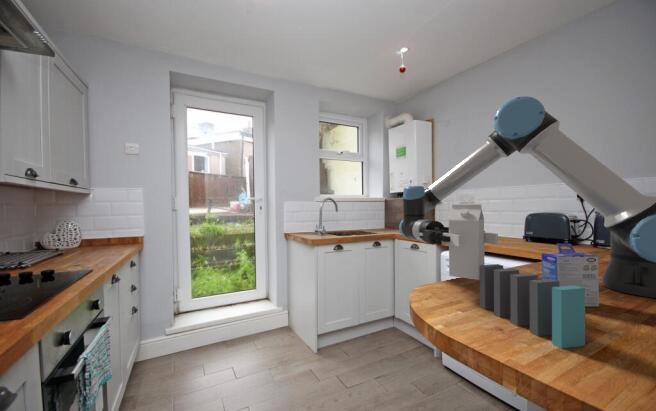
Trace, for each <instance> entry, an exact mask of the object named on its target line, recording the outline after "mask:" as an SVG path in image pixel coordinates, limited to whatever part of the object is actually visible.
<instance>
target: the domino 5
mask: <svg viewBox="0 0 656 411" xmlns="http://www.w3.org/2000/svg"><path fill="white" fill-rule="evenodd" d="M551 341H552V342H551V344H552V345H554V346H555V347H557V348H560V349H568V348H577V347H584V346H586V307H585V288H583V287H579V286H576V285H573V286H561V287H552V335H551Z"/></svg>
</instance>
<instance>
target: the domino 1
mask: <svg viewBox="0 0 656 411" xmlns="http://www.w3.org/2000/svg"><path fill="white" fill-rule="evenodd" d="M497 269H504V265H501V264H499V263H495V264H484V265H480V279H479V308H480V309H483V310H494V270H497Z"/></svg>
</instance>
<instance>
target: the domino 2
mask: <svg viewBox="0 0 656 411" xmlns="http://www.w3.org/2000/svg"><path fill="white" fill-rule="evenodd" d="M513 274H520V270H519V269H516V268H503V269H497V270H494V309H493V315H494V316H497V317H498V318H507V317H506V316H509V317H511V297H510V275H513Z"/></svg>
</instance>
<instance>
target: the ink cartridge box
mask: <svg viewBox="0 0 656 411" xmlns="http://www.w3.org/2000/svg"><path fill="white" fill-rule="evenodd" d="M556 247H557V250H558V252H541V271H542V274H541V275H542V279H554V280H558V281H559V287H561V286H573V285H576V286H579V287H583V288H585V308H586V307H587V308H588V307H599V306H600V295H599V294H600V291H599V290H600V289H599V287H600V286H599V284H600V283H599V256H598V255H597V254H590V253H587V252H586V253H585V252H582V251H581V252H580V251H579V252H577V251H575V249H574V247H573V244H571V243H565V242H564V243H559V242H558V243H557V242H556ZM562 247H567V248H562Z"/></svg>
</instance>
